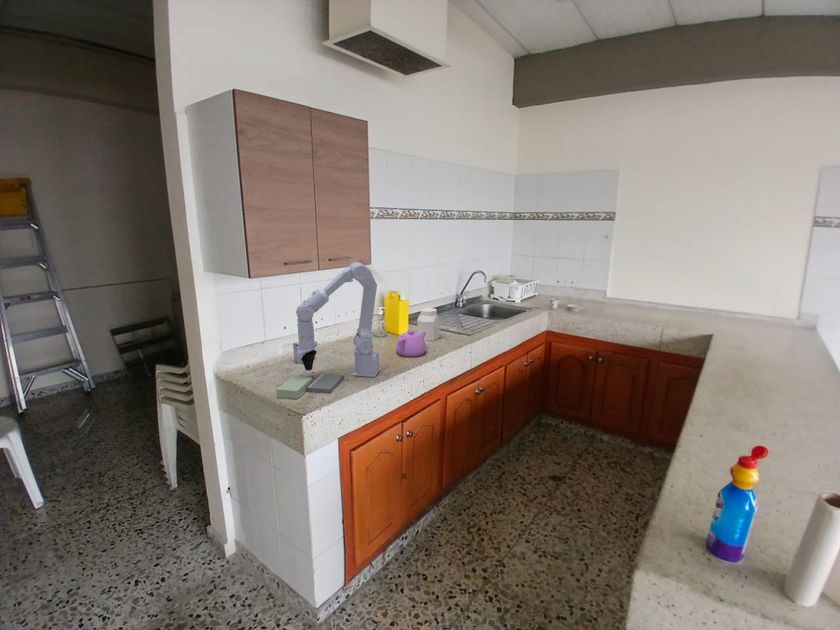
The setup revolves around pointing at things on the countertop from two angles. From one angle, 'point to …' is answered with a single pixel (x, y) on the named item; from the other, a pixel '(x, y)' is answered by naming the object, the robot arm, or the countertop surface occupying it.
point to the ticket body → (325, 383)
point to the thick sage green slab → (293, 387)
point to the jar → (429, 324)
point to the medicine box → (296, 352)
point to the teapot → (411, 344)
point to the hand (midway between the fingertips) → (308, 369)
